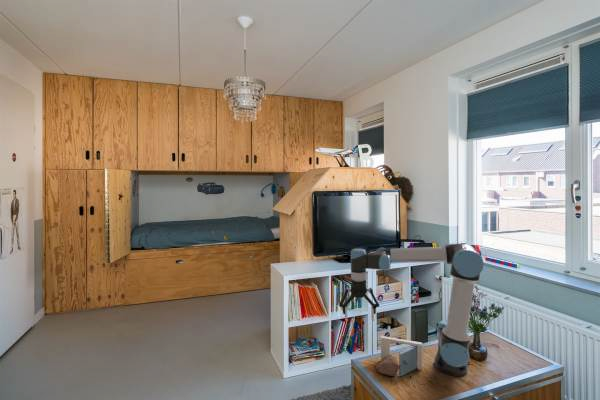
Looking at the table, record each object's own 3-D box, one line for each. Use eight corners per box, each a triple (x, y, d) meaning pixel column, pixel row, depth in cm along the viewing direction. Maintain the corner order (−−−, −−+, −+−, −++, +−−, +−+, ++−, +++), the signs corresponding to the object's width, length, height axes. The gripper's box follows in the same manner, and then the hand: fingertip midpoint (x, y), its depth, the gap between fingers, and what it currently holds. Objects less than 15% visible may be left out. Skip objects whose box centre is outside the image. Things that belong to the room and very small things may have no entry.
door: (416, 366, 157) (416, 344, 157) (420, 369, 155) (420, 347, 154) (399, 375, 150) (399, 352, 150) (403, 378, 148) (403, 355, 147)
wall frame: (421, 368, 157) (421, 342, 156) (421, 370, 155) (421, 344, 154) (381, 360, 164) (381, 335, 163) (380, 362, 162) (380, 337, 162)
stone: (394, 385, 147) (404, 367, 147) (376, 373, 148) (387, 355, 149) (389, 373, 159) (399, 356, 160) (373, 362, 161) (383, 345, 161)
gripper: (381, 276, 161) (382, 316, 162) (333, 277, 162) (334, 316, 163) (384, 281, 153) (385, 323, 154) (334, 281, 155) (335, 323, 156)
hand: (359, 320), depth 159 cm, fingers open, 13 cm apart
